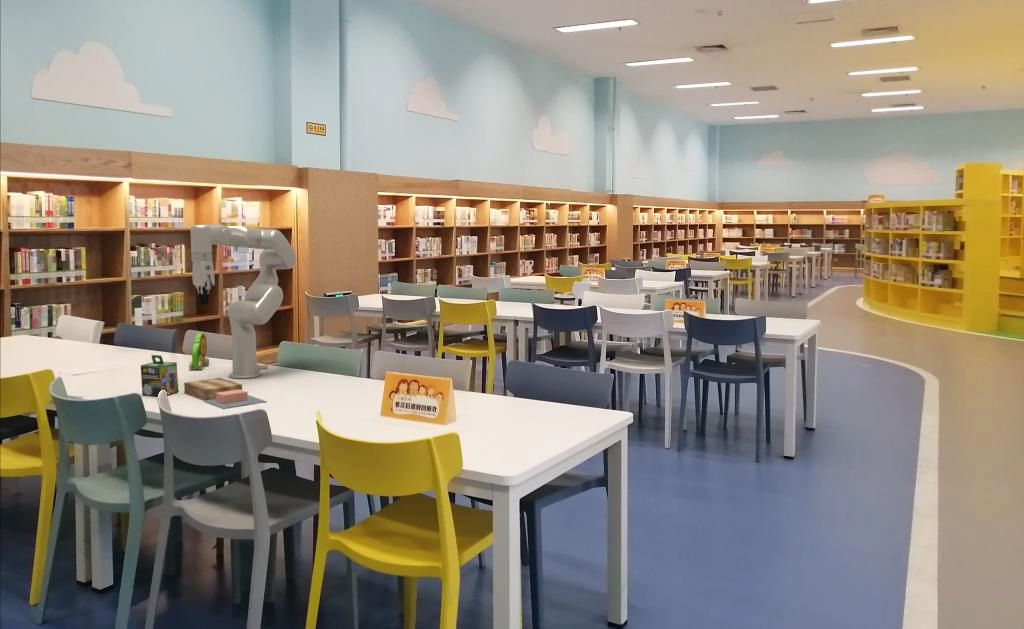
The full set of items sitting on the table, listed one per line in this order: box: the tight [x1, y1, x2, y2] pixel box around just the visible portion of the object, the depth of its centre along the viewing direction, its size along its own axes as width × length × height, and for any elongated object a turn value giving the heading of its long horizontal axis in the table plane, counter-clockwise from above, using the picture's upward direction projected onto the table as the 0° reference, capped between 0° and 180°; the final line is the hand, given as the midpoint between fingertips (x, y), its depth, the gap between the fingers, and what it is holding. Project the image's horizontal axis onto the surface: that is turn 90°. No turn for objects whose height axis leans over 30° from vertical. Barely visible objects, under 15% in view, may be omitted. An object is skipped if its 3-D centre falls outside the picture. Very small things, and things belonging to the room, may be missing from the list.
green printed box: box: [140, 354, 179, 397], centre depth 296 cm, size 9×9×15 cm
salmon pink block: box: [216, 389, 249, 404], centre depth 285 cm, size 9×6×3 cm, turn 134°
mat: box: [202, 394, 264, 410], centre depth 284 cm, size 16×16×1 cm
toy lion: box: [188, 332, 210, 371], centre depth 350 cm, size 16×5×15 cm, turn 6°
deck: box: [183, 377, 243, 401], centre depth 296 cm, size 14×18×4 cm
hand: (203, 304), depth 308 cm, fingers closed
